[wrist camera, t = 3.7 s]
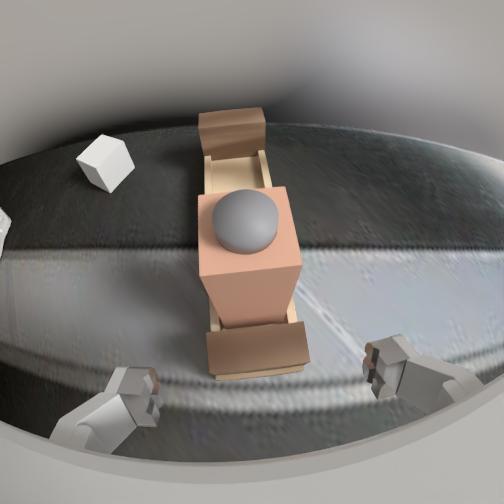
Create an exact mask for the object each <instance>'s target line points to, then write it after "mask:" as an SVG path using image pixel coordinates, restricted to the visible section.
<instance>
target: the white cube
mask: <svg viewBox="0 0 504 504" xmlns="http://www.w3.org/2000/svg"><path fill="white" fill-rule="evenodd" d="M76 160H77V161H78V163H79V165H80V166H81V168H82V170H83V171H84V173H85V174H86V176H87V178H88V179H89V181H90V182H91V183H92V184H94V185H96V186H98V187H100V188H102V189H104V190H105V191H107V192H109V193H111V192H112V191H113V190H114V189H115V188H116V187H117V186H118V185H119V184H120V182H121V181H122V180H123V179H124V178H125V177H126V176H127V175H128V174H129V173H130V172H131V171H132V170H133V169H134V168H135V167H134V164H133V162H132V160H131V158H130V155H129V153H128V151H127V149H126V146H125V144H124V142H123V141H121V140H118V139H115V138H112V137H108V136H105V135H101V136H100V137H99V138H97V139H96V140H95V141H94V142H93V143H92V144H91V145H90V146H89V147H88V148H87V149H86V150H85V151H84V152H83V153H82V154H81V155H80V156H79V157H78V158H77V159H76Z"/></svg>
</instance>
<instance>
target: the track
mask: <svg viewBox="0 0 504 504" xmlns="http://www.w3.org/2000/svg"><path fill="white" fill-rule="evenodd" d="M198 129H199V134H200V139H201V144H202V150H203V155H204V160H205V194H213V193H222V192H231V191H237V190H242V189H261V188H272V184H271V179H270V175H269V170H268V165H267V161H266V156H265V119H264V115H263V111H262V108H247V109H235V110H225V111H216V112H208V113H201V114H199V128H198ZM209 308H210V323H211V332H206V341H207V354H208V365H209V374H212V375H215V376H216V380H217V381H226V380H238V379H248V378H257V377H266V376H273V375H281V374H288V373H294V372H300V371H303V370H304V366H303V365H305V364H307V363H309V362H310V358H309V351H308V345H307V339H306V333H305V327H304V321H302V322H297V316H296V310H295V305H294V299H293V295H292V297H291V300H290V303H289V306H288V309H287V311H286V314H285V317H284V320H283V322H282V323H275V324H267V325H259V326H250V327H241V328H231V329H225V327H224V325H223V323H222V321H221V319H220V317H219V315H218V313H217V311H216V309H215V307H214V305H213V303H212V301H211V299H210V297H209Z"/></svg>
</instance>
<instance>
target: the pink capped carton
mask: <svg viewBox="0 0 504 504" xmlns="http://www.w3.org/2000/svg"><path fill="white" fill-rule="evenodd" d="M198 238H199V274H200V278H201V280H202V282H203V284H204V286H205V289H206V291H207V293H208V295H209V297H210V299H211V301H212V303H213V305H214V307H215V309H216V311H217V313H218V315H219V317H220V319H221V321H222V323H223V325H224V327H225V329H231V328H241V327H250V326H259V325H267V324H275V323H282V322H283V320H284V317H285V314H286V311H287V309H288V306H289V303H290V300H291V297H292V295H293V292H294V289H295V286H296V283H297V280H298V277H299V274H300V271H301V268H302V265H303V264H302V259H301V255H300V250H299V245H298V241H297V236H296V232H295V227H294V223H293V218H292V214H291V210H290V206H289V201H288V197H287V193H286V189H285V187H272V188H261V189H242V190H237V191H231V192H222V193H213V194H205V195H198Z"/></svg>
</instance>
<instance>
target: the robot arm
mask: <svg viewBox="0 0 504 504" xmlns="http://www.w3.org/2000/svg"><path fill="white" fill-rule="evenodd" d="M10 224H11V219H10V218H9V217H8V215H7V214H6V213H5V212H4V211H3V210H2V209H1V208H0V257H1V254H2V249H3V244H4V239H5V236H6V234H7V232H8V229H9V227H10ZM365 352H366V354H367V356H366V357H365V358H364V360H363V366H362V367H363V374H364V377H365V379H366V381H367V382H369V383H371V384H372V387H371V390H372V391H373V393H374V395H375V396H376V398H377V400H379V399H382V398H386V397H389V396H393V395H396V396H398V397H400V398H401V399H403V400H405V401H407V402H408V403H410V404H412V405H413V406H415V407H417V408H418V409H420V410H422V411H424V412H425V413H427V414H429V415H428V416H425V417H423V418H421V419H418V420H416V421H414V422H411V423H409V424H406V425H404V426H401V427H398V428H396V429H393V430H390V431H387V432H384V433H381V434H378V435H375V436H372V437H369V438H366V439H363V440H359V441H356V442H352V443H348V444H345V445H341V446H337V447H333V448H328V449H324V450H319V451H314V452H309V453H304V454H298V455H292V456H286V457H279V458H271V459H262V460H252V461H238V462H212V463H196V462H170V461H156V460H146V459H137V458H130V457H123V456H117V455H111V453H112V452H113V451H114V450H115V449H116V448H117V447H118V446H119V445H120V444H121V443H122V442H123V441H124V440H125V439H126V438H127V437H128V436H129V434H130V433H131V432H132V431H133V430H134V429H135V428H136V427H137V426H153V427H157V425H158V420H159V416H160V413H159V411H158V409H159V408H160V407H161V406H162V404H163V391H162V387H161V384H160V383H159V382H158V381H156V377H157V374H156V371H155V369H154V368H152V367H122V366H118V367H117V368H116V369H115V371H114V373H113V375H112V377H111V379H110V381H109V383H108V385H107V387H106V389H105V391H104V393H102V392H100V393H99V394H97V395H96V396H94V397H93V398H91V399H90V400H88V401H87V402H85V403H84V404H82V405H81V406H79V407H77V408H76V409H74V410H73V411H71V412H70V413H68V414H67V415H65V416H63V417H62V418H60V419H59V421H58V423H57V425H56V427H55V428H54V430H53V432H52V434H51V436H50V438H49V439H46V438H43V437H40V436H37V435H34V434H32V433H29V432H26V431H24V430H21V429H18V428H16V427H14V426H11V425H9V424H6V423H4V422H2V421H0V504H504V374H502V375H501V376H499V377H498V378H496V379H495V380H493V381H491V382H490V383H488V384H487V385H485V386H484V385H483V384H482V383H481V381H480V380H479V379H478V378H477V377H476V376H475V375H474V374H473V373H472V372H471V371H470V370H469V369H466V368H463V367H460V366H456V365H453V364H451V363H448V362H445V361H442V360H439V359H436V358H433V357H430V356H427V355H424V354H423V355H420V354H419V353H418V352H417V351H416V349H415V348H414V347H413V346H412V345H411V344H410V343H409V342H408V341H407V339H406V338H405V337H404V336H403V335H401V334H398V335H394V336H391V337H389V338H384V339H380V340H376V341H372V342H368V343H367V344H366V346H365Z"/></svg>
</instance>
